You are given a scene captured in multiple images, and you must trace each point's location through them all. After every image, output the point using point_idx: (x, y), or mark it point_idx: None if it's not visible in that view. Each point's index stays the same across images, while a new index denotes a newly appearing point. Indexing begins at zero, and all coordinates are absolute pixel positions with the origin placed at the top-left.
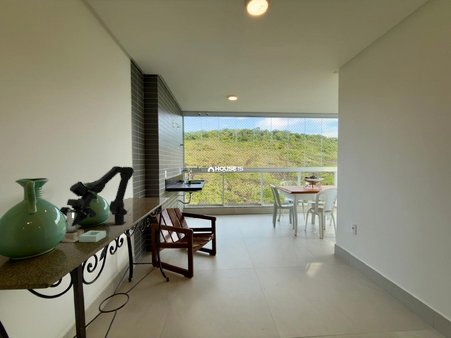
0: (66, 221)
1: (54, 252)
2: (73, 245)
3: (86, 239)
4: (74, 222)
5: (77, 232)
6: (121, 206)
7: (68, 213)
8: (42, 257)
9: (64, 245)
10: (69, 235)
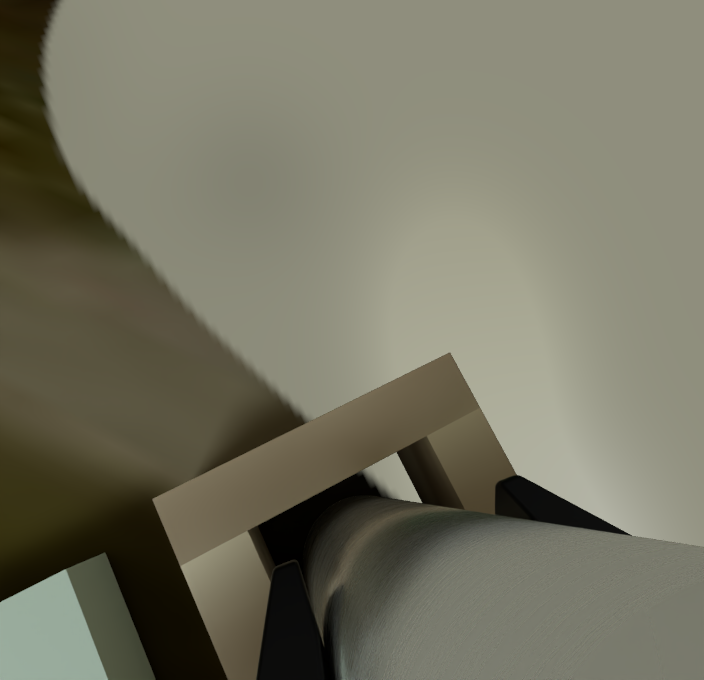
0: None
1: (34, 157)
2: (46, 421)
3: None
4: (261, 676)
5: (217, 634)
6: None
7: (631, 599)
8: (8, 26)
9: (187, 355)
10: (238, 457)
